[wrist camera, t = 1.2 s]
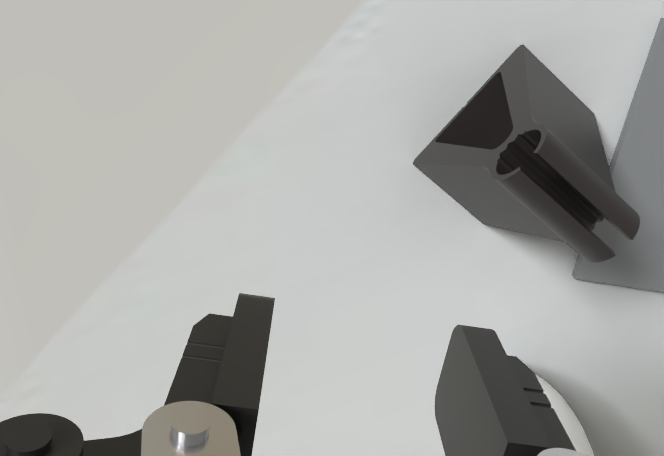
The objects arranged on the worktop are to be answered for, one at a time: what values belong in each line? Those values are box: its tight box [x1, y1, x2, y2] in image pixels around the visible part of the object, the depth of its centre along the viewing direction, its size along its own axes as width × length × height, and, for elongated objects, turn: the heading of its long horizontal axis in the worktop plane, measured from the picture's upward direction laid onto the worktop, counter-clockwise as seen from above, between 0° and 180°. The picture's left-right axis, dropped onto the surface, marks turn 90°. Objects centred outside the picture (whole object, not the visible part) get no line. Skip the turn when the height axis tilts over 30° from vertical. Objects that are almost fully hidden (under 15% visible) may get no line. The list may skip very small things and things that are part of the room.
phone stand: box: [413, 45, 640, 263], centre depth 31 cm, size 9×6×12 cm, turn 139°
